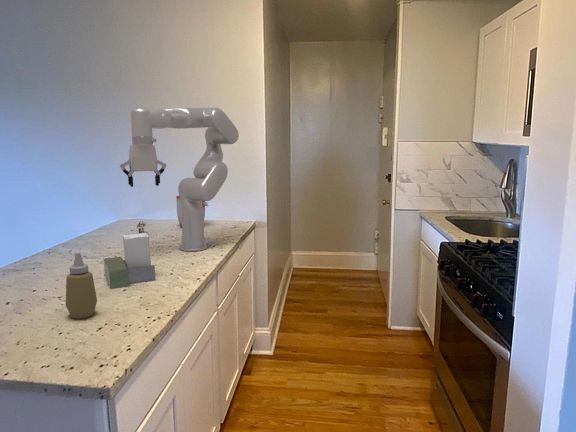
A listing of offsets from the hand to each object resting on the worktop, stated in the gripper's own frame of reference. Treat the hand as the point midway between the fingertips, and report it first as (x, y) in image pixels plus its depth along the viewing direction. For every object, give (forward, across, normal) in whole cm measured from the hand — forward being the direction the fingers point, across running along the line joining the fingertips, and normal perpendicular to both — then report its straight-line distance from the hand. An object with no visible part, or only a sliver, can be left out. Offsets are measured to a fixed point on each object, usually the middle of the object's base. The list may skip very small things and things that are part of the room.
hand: (144, 185), depth 174 cm
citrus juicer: (+31, -35, -58) cm, 74 cm away
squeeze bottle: (+31, +27, +48) cm, 63 cm away
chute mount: (+30, +10, +20) cm, 38 cm away
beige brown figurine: (+31, -6, -52) cm, 60 cm away
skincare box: (+30, +7, +20) cm, 37 cm away
